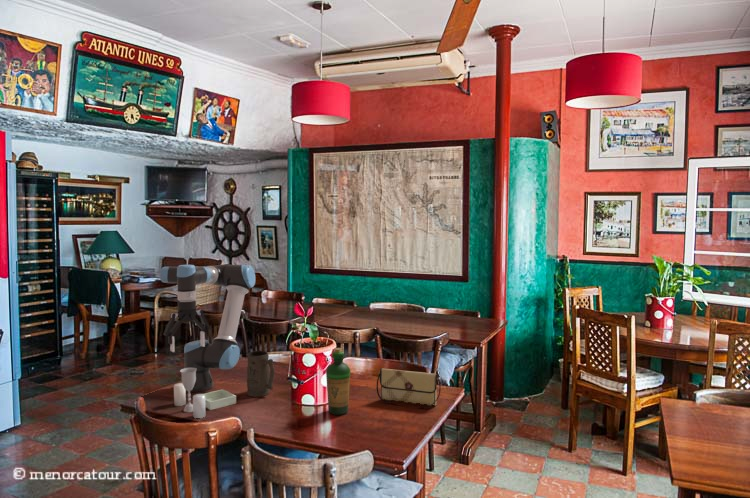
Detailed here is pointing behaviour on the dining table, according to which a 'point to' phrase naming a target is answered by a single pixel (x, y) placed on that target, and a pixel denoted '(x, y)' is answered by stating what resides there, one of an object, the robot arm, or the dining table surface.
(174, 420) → the dining table surface
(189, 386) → the chalice
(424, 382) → the clutch purse
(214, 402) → the tray
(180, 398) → the white upright cylinder
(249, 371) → the beer stein
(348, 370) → the bottle
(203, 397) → the pillar candle
